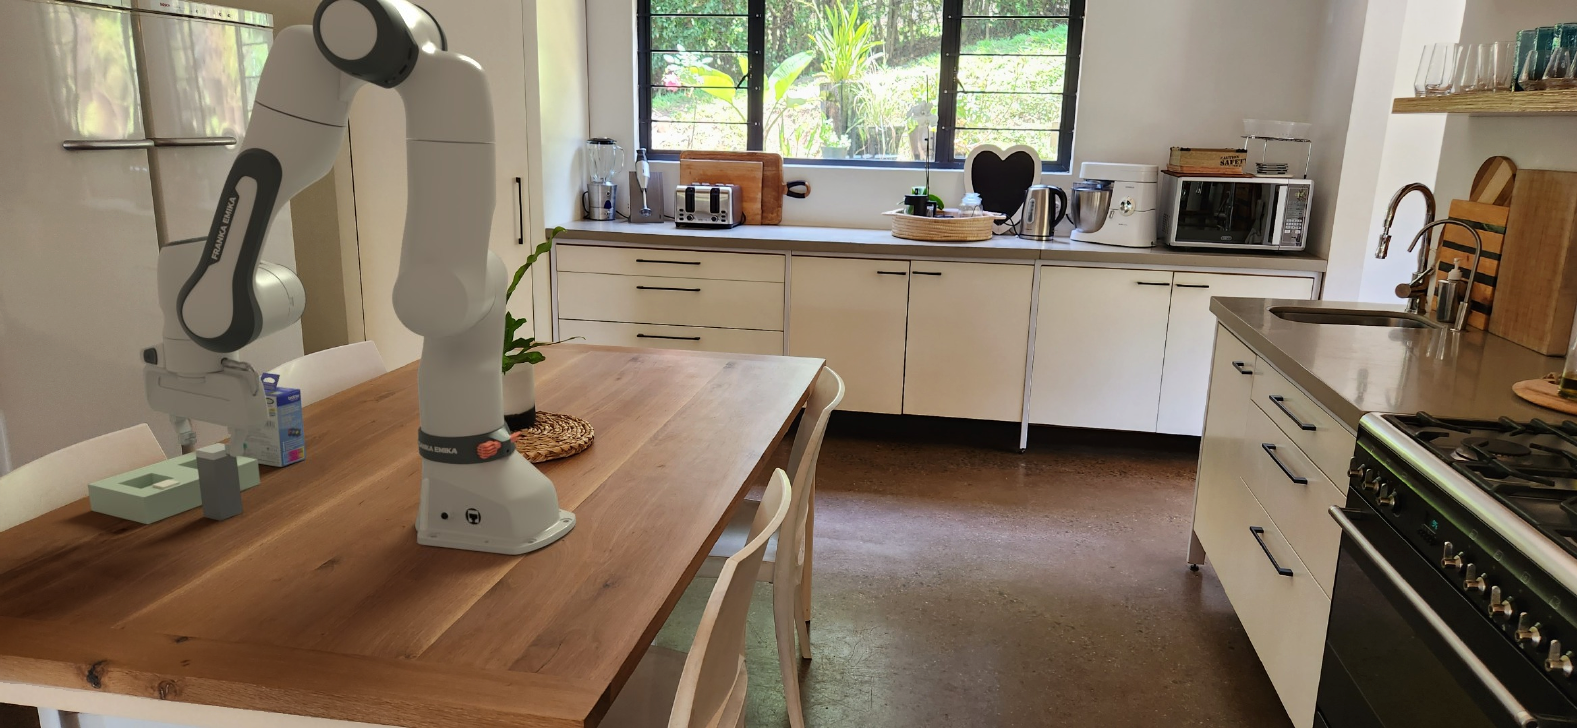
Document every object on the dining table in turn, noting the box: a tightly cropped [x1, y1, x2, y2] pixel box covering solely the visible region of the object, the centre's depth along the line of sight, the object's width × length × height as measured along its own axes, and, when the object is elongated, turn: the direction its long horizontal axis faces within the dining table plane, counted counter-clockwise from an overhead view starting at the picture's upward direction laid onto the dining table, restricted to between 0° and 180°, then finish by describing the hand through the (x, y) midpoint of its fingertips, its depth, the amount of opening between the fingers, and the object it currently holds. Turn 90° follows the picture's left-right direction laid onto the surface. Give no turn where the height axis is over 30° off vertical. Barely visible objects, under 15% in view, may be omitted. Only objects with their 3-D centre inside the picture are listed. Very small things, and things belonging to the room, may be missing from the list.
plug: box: [194, 442, 244, 522], centre depth 141 cm, size 4×4×10 cm
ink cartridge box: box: [240, 372, 307, 468], centre depth 164 cm, size 10×6×14 cm, turn 71°
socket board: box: [87, 451, 261, 525], centre depth 148 cm, size 12×18×4 cm, turn 157°
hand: (211, 449), depth 140 cm, fingers open, 8 cm apart
